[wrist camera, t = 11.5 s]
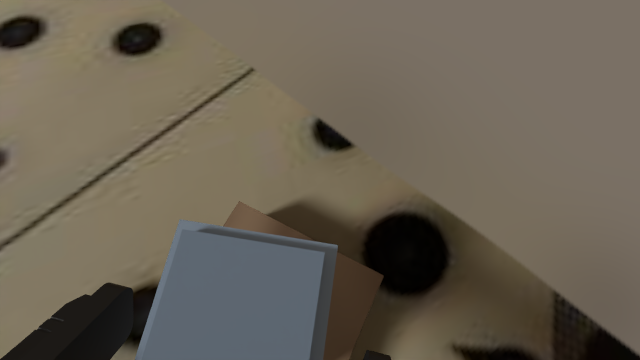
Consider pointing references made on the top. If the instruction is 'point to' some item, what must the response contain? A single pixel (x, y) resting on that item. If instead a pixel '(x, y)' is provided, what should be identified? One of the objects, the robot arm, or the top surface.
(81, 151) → the top surface
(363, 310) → the walnut box
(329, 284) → the pale blue upright prism
